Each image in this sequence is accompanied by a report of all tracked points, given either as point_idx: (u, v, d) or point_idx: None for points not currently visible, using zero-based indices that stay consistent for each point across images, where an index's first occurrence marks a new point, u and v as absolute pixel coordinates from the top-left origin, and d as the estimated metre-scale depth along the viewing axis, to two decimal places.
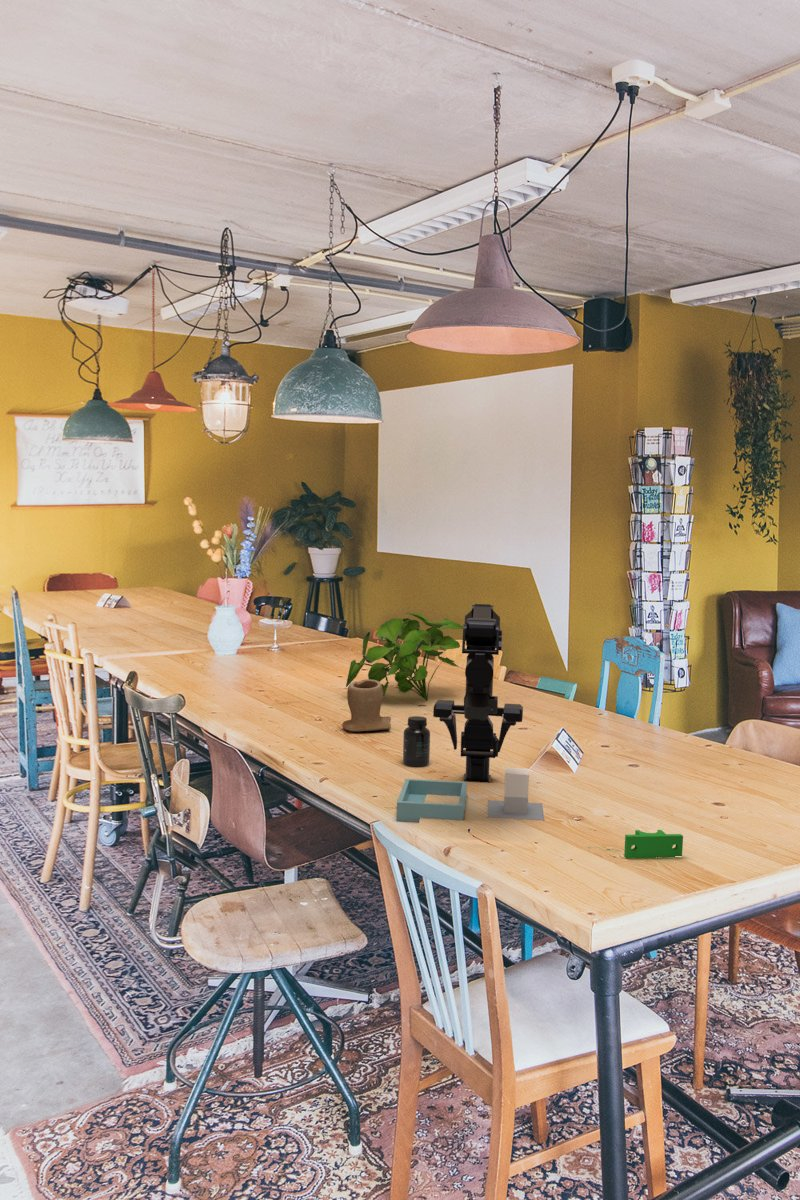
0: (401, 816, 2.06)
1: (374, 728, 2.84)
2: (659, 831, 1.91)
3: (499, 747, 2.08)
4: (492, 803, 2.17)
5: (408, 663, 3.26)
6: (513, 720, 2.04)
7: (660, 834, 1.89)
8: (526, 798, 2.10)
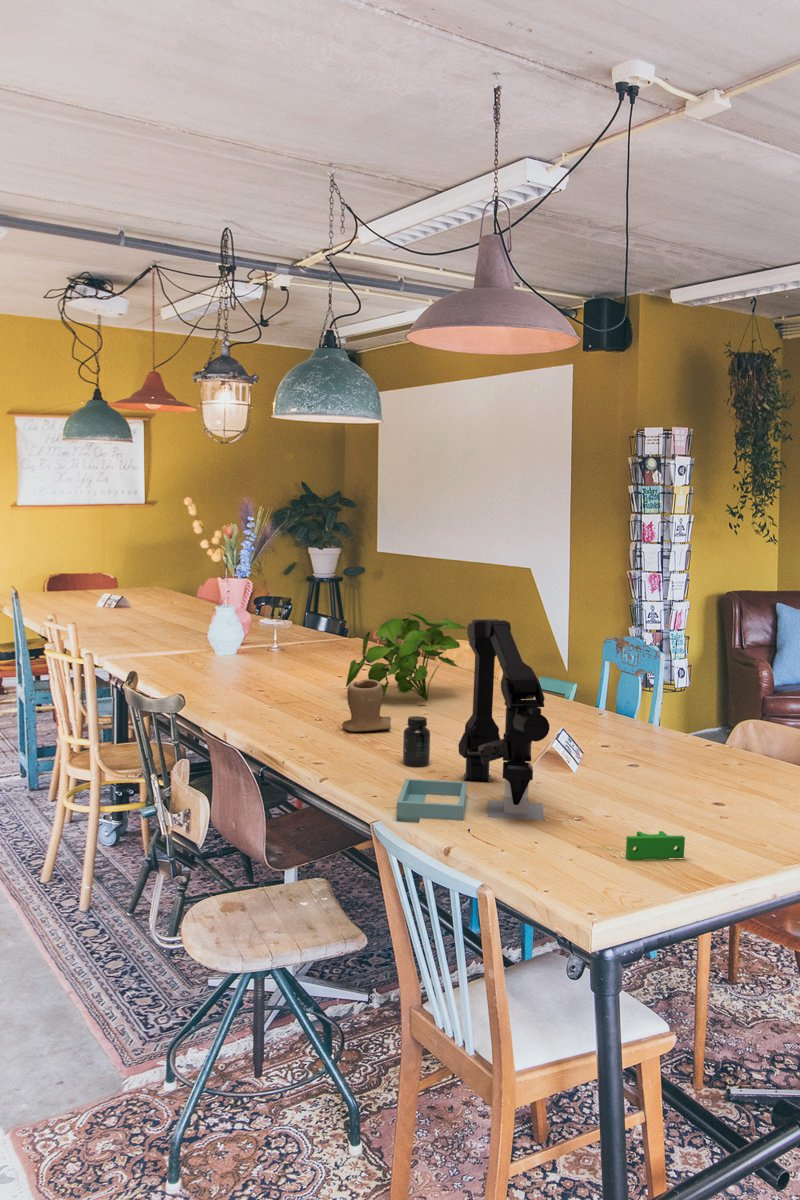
0: (401, 816, 2.06)
1: (374, 728, 2.84)
2: (661, 833, 1.90)
3: None
4: (492, 803, 2.17)
5: (408, 663, 3.26)
6: None
7: (662, 836, 1.88)
8: (526, 798, 2.10)
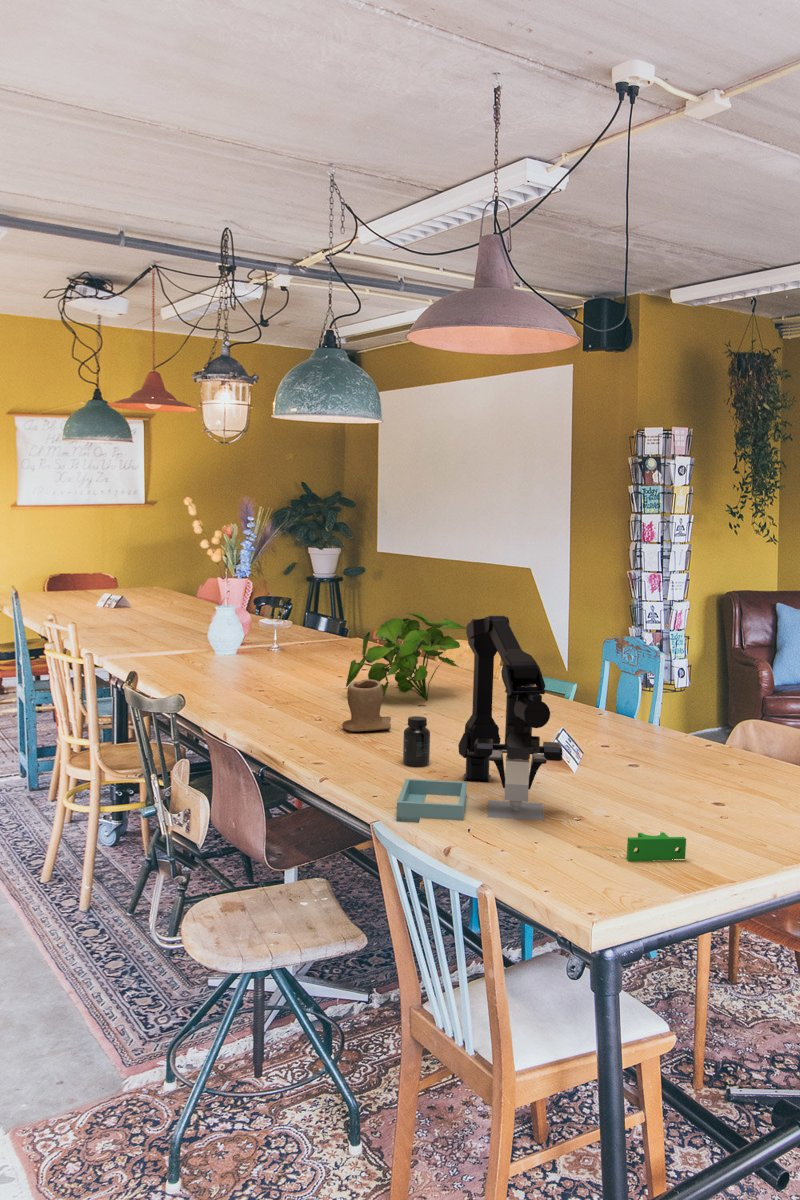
0: (401, 816, 2.06)
1: (374, 728, 2.84)
2: (662, 834, 1.89)
3: (530, 784, 2.11)
4: (492, 803, 2.17)
5: (408, 663, 3.26)
6: (553, 759, 2.08)
7: (663, 837, 1.88)
8: None
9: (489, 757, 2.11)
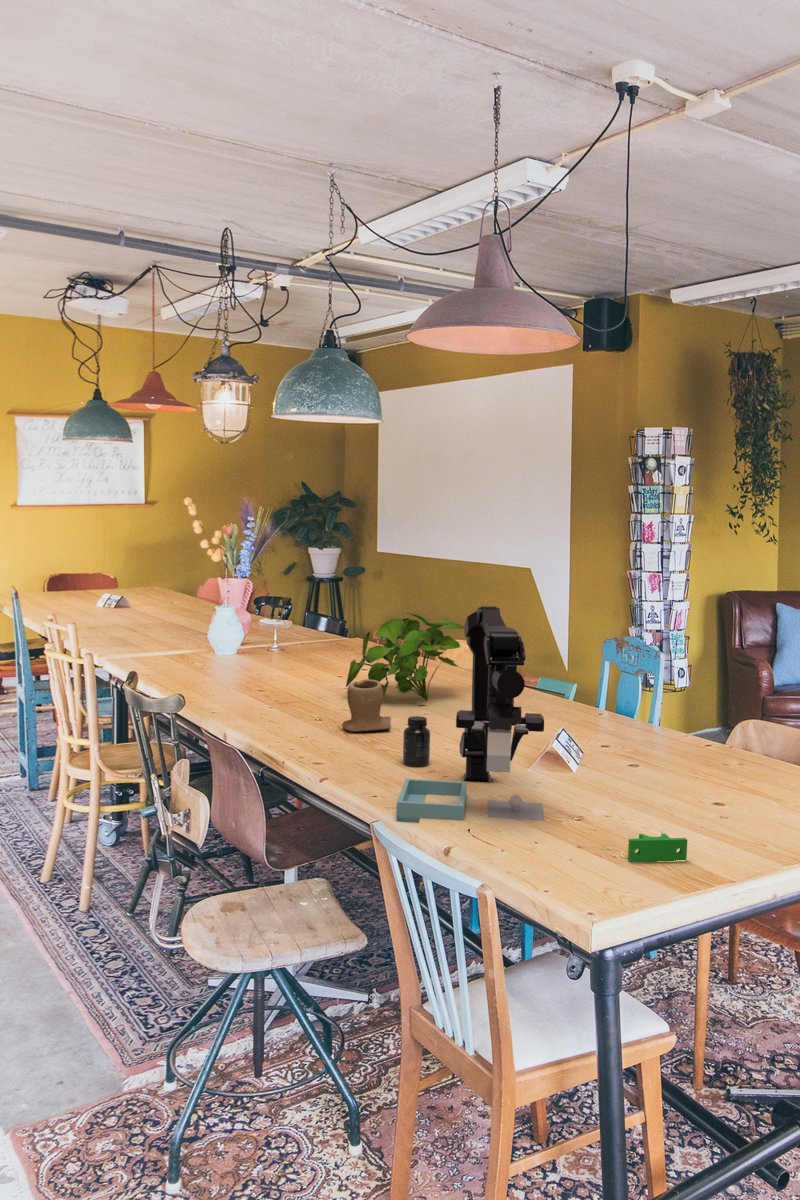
0: (401, 816, 2.06)
1: (374, 728, 2.84)
2: (663, 835, 1.89)
3: (511, 756, 2.11)
4: (492, 803, 2.17)
5: (408, 663, 3.26)
6: (535, 730, 2.08)
7: (664, 838, 1.87)
8: None
9: (471, 728, 2.10)
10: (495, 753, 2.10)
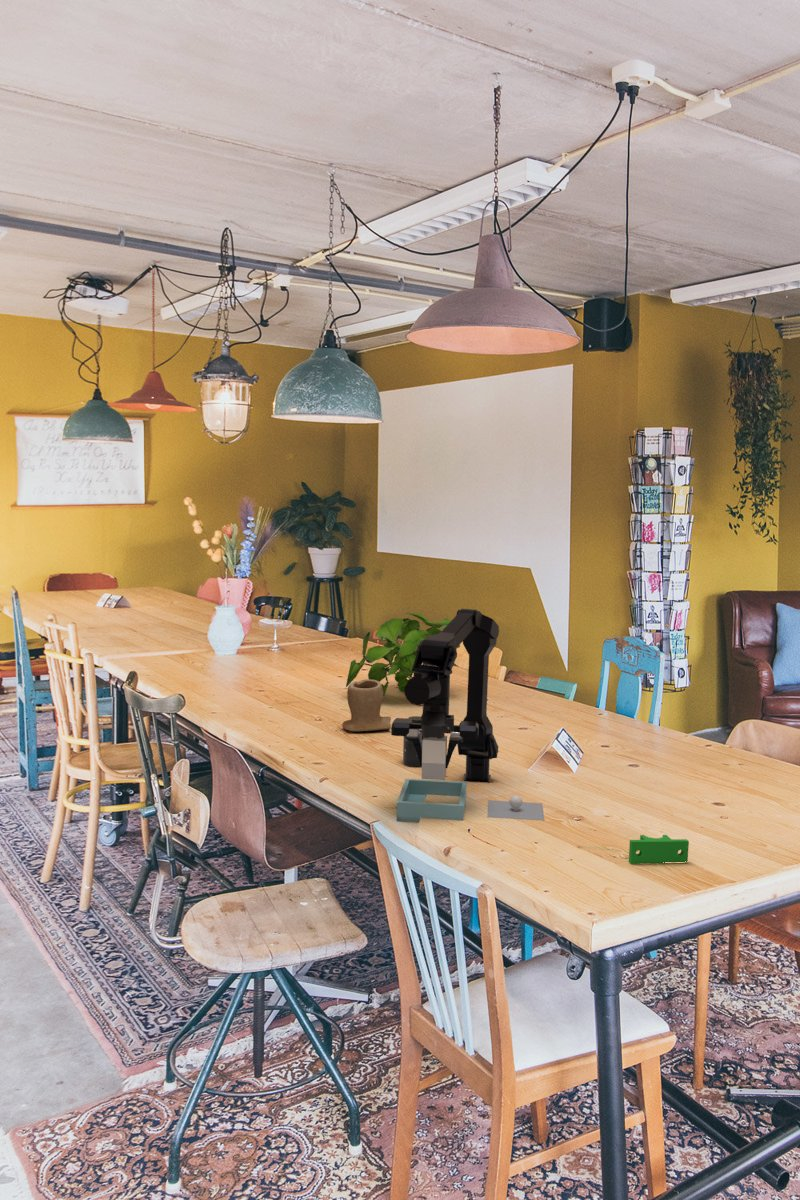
0: (401, 816, 2.06)
1: (374, 728, 2.84)
2: (664, 836, 1.88)
3: (447, 763, 2.13)
4: (492, 803, 2.17)
5: (408, 663, 3.26)
6: (469, 738, 2.09)
7: (665, 839, 1.86)
8: None
9: (406, 736, 2.12)
10: (430, 761, 2.11)
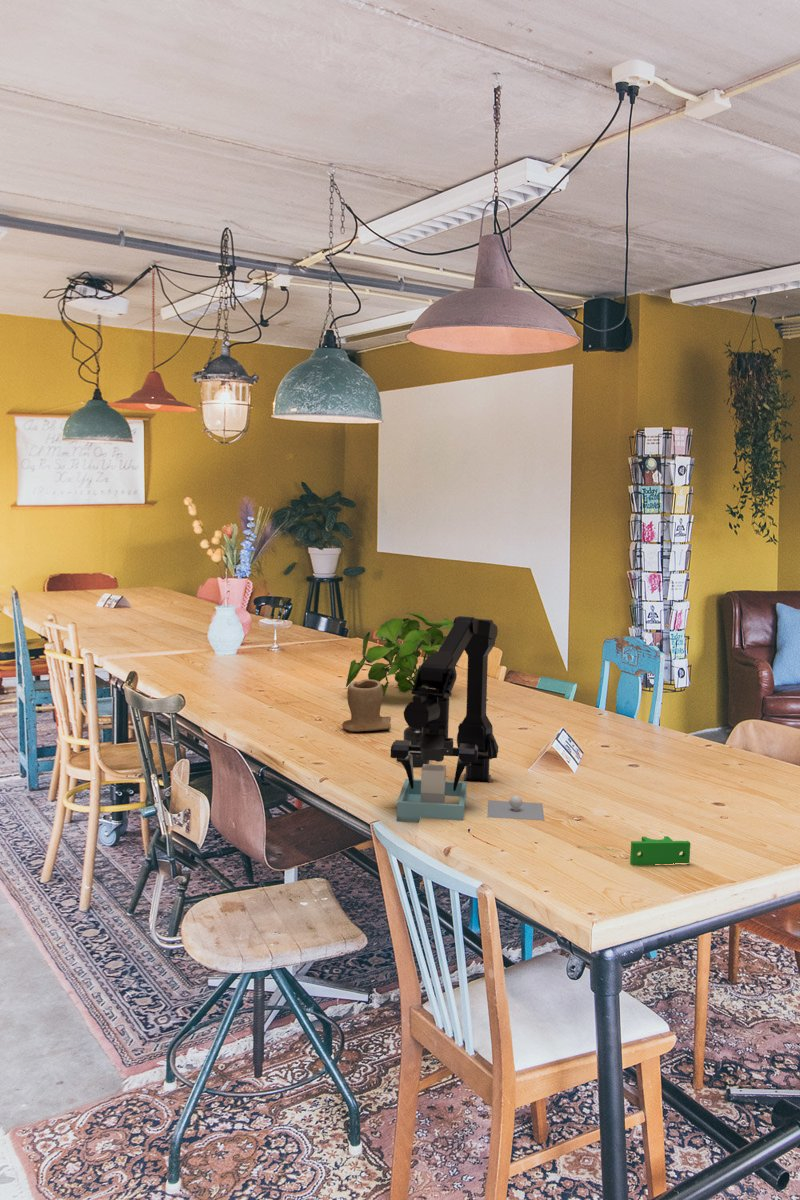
0: (401, 816, 2.06)
1: (374, 728, 2.84)
2: (666, 838, 1.87)
3: (455, 786, 2.13)
4: (492, 803, 2.17)
5: (408, 663, 3.26)
6: (468, 760, 2.10)
7: (667, 841, 1.85)
8: None
9: (397, 758, 2.13)
10: (429, 791, 2.12)
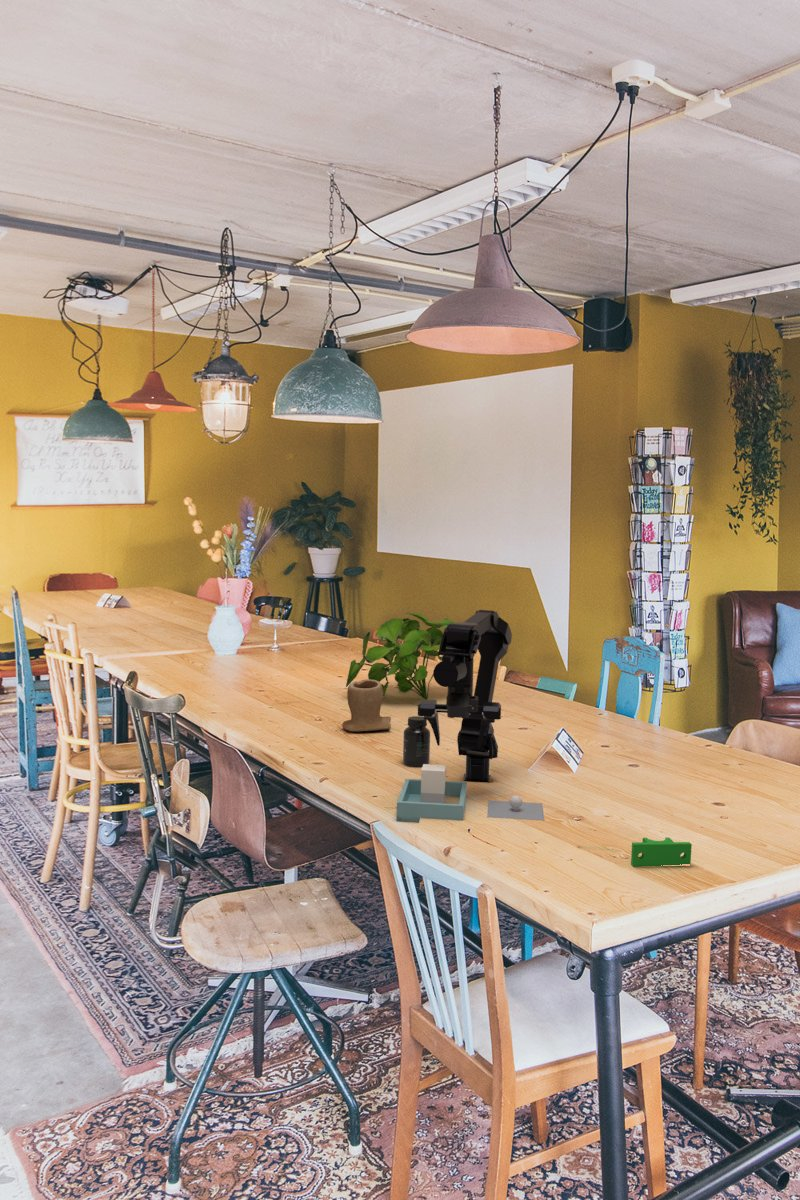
0: (401, 816, 2.06)
1: (374, 728, 2.84)
2: (667, 839, 1.87)
3: (479, 743, 2.22)
4: (492, 803, 2.17)
5: (408, 663, 3.26)
6: (492, 718, 2.19)
7: (668, 842, 1.85)
8: None
9: (424, 716, 2.22)
10: (429, 791, 2.12)
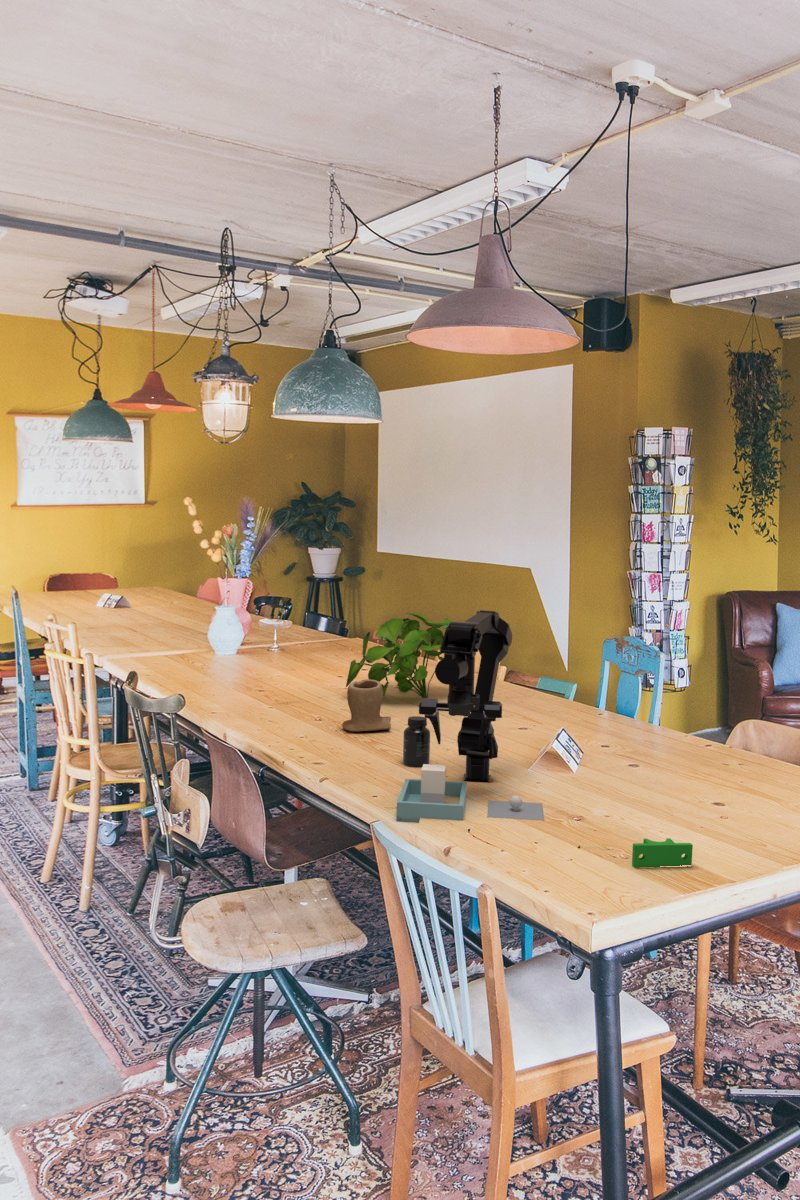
0: (401, 816, 2.06)
1: (374, 728, 2.84)
2: (668, 840, 1.86)
3: (480, 741, 2.23)
4: (492, 803, 2.17)
5: (408, 663, 3.26)
6: (493, 716, 2.19)
7: (669, 843, 1.84)
8: None
9: (425, 714, 2.22)
10: (429, 791, 2.12)
